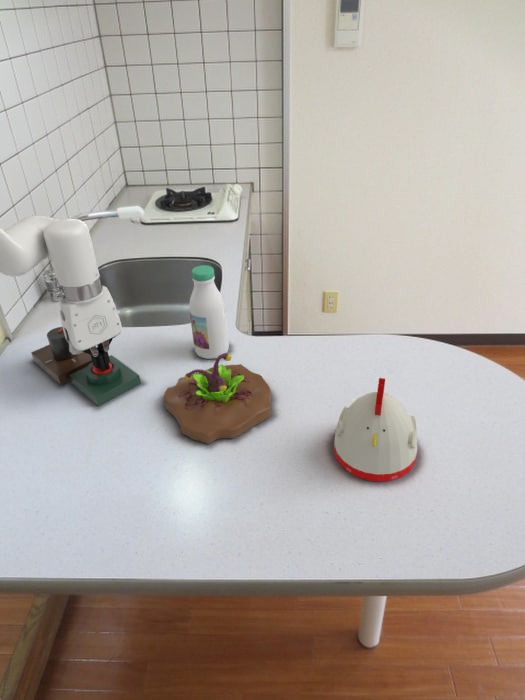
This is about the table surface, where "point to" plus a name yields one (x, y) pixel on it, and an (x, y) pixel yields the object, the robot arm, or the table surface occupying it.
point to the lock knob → (59, 344)
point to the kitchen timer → (376, 437)
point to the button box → (105, 381)
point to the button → (99, 372)
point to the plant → (219, 401)
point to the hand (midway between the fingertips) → (102, 367)
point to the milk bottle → (207, 315)
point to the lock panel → (60, 364)
